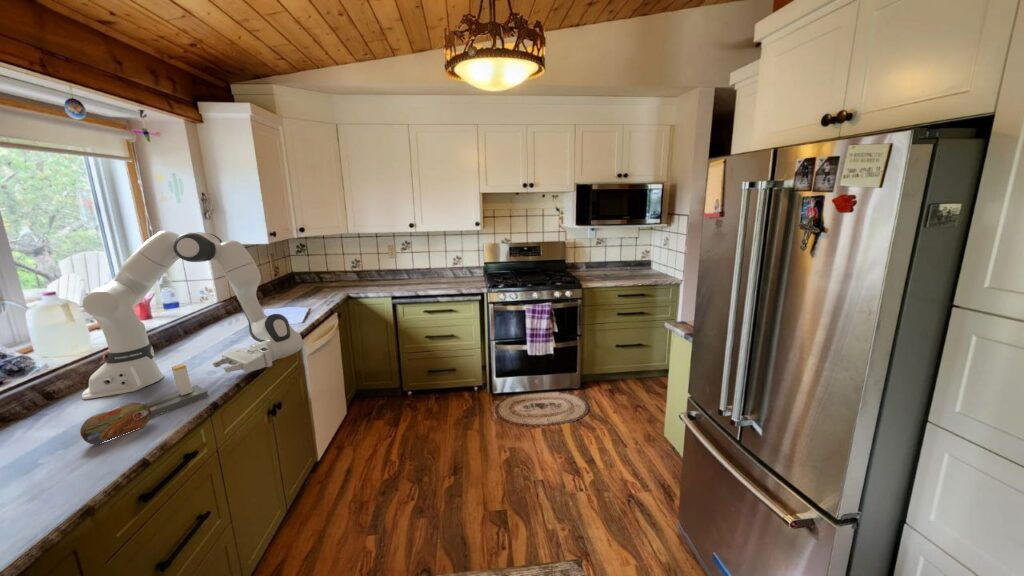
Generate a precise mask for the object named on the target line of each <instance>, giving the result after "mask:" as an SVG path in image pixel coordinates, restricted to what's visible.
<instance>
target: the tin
mask: <svg viewBox="0 0 1024 576" xmlns="http://www.w3.org/2000/svg"><path fill="white" fill-rule="evenodd" d="M150 417H151V411H150V409H149V407H148V406H146V405H145V403H141V402H136V401H135V402H134V401H133V402H127V403H125V404H123V405H119V406H116V407H114V408H111V409H109V410H106V411H103V412H99V413H97V414H94V415H92V416H90V417H89V418H87V420H85V421H84V422H83V423H82V425H81V428H80V430H79V431H80V436H81V438H82V439H83V441H84V442H86V443H88V444H91V445H101V444H100V443H102V442H104V441H107V440H110V439H112V438H115V437H118V436H121V435H123V434H126V433H128V432H131V431H133V430H136V429H138V428H140V429H142V428H144V427H145V426H146V425H147V423H148V422H149V421H150V419H151V418H150ZM143 426H144V427H143ZM141 427H142V428H141ZM136 431H137V430H136ZM131 433H132V432H131ZM126 435H127V434H126ZM121 437H122V436H121Z"/></svg>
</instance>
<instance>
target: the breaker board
mask: <svg viewBox="0 0 1024 576" xmlns="http://www.w3.org/2000/svg"><path fill="white" fill-rule="evenodd" d="M191 388H192V392H191V393H188V394H185V395H180V394H178V391H176V392H173V393H171V394H168V395H165V396H162V397H159V398H157V399H153V400H150V401H148V402H145V403H144V404H145V405H146V406H148V407H149V409H150V411H151V417H152V418H154V416H155V417H157V416H160V415H162V414H161V413H163V414H165V413H167V411H168V412H170V411H173V410H175V408H176V409H178V408H180V406H181V407H184V406H186V405H188V404H191V402H192V403H193V402H194V403H195V402H197V401H199V399H200V400H202V399H204V398H208V397H209V392H208V390H206V389H204V387H203V388H202V387H201V386H199V385H197V384H196V385H193V386H191ZM207 396H208V397H207ZM183 405H184V406H183ZM164 412H165V413H164ZM159 414H160V415H159ZM156 415H157V416H156ZM151 417H150V419H151Z"/></svg>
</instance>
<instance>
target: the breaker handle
mask: <svg viewBox="0 0 1024 576" xmlns="http://www.w3.org/2000/svg"><path fill="white" fill-rule="evenodd" d="M171 370H172V374H173V377H174V380H175V385H176V390H177V392H178V394H180V395H185V394H188V393H191V392H192V388H191V387H192V385H191V381H190V377H189V373H188V369H187V365H186V364H184V363H180V364H177V365H174V366H171Z"/></svg>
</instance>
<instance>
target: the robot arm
mask: <svg viewBox="0 0 1024 576" xmlns="http://www.w3.org/2000/svg"><path fill="white" fill-rule="evenodd" d="M179 259H181V260H182V261H186V262H190V263H204V262H207V261H208V262H209V261H212V262H214V263H216V264H217V265H218V266H219V267H220V269H221V270H222V273H223V275H224V276H225V278H226V280H227V282H228V284H229V285H230V287H231V289H232V290H233V293H234V294H235V297H236V300H237V301H238V303H239V306H240V307H241V309H242V311H243V313H244V315H245V318H246V319H247V322H248V331H249V335H250V336H251V338H252V339H253V340H254V341H257V343H253V344H250V346H249V348H248V349H246V348H238V349H233V350H230V351H226V352H224V353H222V355H221V357H222V358H220V359H219V360H216V361H214V362H212V365H213V367H214V368H219V367H221V366H222V365H226V364H227V366H226V367H224V368H223V369H224V372H225V373H231V372H236V371H241V370H242V371H244V372H246V373H247V372H248V373H249V372H254V371H257V370H260V369H264V368H265V367H266V368H269V367H270V368H271V367H272V366H273V362H274V361H276V360H278V359H284V358H287V357H289V356H291V355H293V354H296V353H297V352H299V351H300V350H301V348H302V347H303V338H302V335H301V334H300V333H299V332H298V331H296V330H295V329H294V328H293V327H292V326H291V324H290V322H289V320H288V318H287V317H286V316H284V315H283V314H280V313H272V314H270V315H266V314H265V312H264V310H263V308H262V306H261V304H260V301H259V300H258V297H257V290H258V287H259V285H260V283H261V280H262V277H261V273H260V270H259V268H258V266H257V263H256V262H255V260H254V258H253V257H252V255H251V254H250V253H249V251H248V250H247V249H246V248H245V246H244V245H243V244H242V243H241V242H239V241H237V240H231V239H230V240H225V241H222V239H221V238H220V237H219V236H217V235H215V234H212V233H210V232H209V233H207V232H200V231H198V232H186V233H184V234H180V235H179V234H177V233H176V232H174V231H170V230H160V231H158V232H156V233H155V234H154V235H152V236H151V237H149V238H148V239H147V240H145V241H144V243H142V244H141V245H140V246H139V247H138V248H137V249H136V250H135V251H134V252H133V253H132V254H131V255H130V256H129V257H128V258H127V259H126V260H125V261H124V262H123V263H122V265H121V267H120V269H119V270H118V272H117V273H116V275H115V276H114V277H113V278H112V279H111V280H110V281H108V282H107V283H106V284H105V283H104V285H101V286H98V287H95V288H94V289H92V290H90V291H89V292H88V293H87V294H86V295H85V297H84V298H83V300H82V307H83V308H82V309H84V311H85V312H86V314H88V315H89V316H92V317H93V318H94V319H95V321H96V323H97V324H98V325H99V327H100V329H101V331H102V332H103V335H104V339H105V341H106V343H107V344H106V345H107V347H108V349H107V350H106V351H105V352H104V354H103V355H102V361H104V364H102V365H101V366H100V367H99V368H98V369H96V371H94V373H92V374H91V375H90V377H89V379H88V387H87V388H86V389H85V390H84V391H83V392H82V394H81V398H82V400H91V399H96V398H103V397H108V396H115V395H120V394H121V395H122V394H127V393H132V392H133V393H134V392H136V391H139V390H141V389H143V388H145V387H146V386H150V385H152V384H154V383H157V382H159V381H160V380H162V379H163V378H164V377H165V374H164V373H163V372H162V371H161V369H160V367H159V365H158V363H157V362H156V360H155V351H154V347H153V346H152V343H151V342H150V340H149V336H148V333H147V330H146V325H145V324H144V322H143V321H142V320H140V319H139V317H138V315H137V314H136V313H135V310H134V308H135V306H136V307H137V305H138V304H140V303H141V302H142V300H143V299H144V298H145V297H146V296H147V294H148V293H149V292H150V290H151V289H152V288H153V287H154V285H155V284H156V283H157V282H158V281H159V280H160V279H161V278H162V277H163V276H164V275H165V273H166V272H167V271H169V269H170V268H171V267H172V266H173V265H174V264H175V263H176V262H177V261H178V260H179Z"/></svg>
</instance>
